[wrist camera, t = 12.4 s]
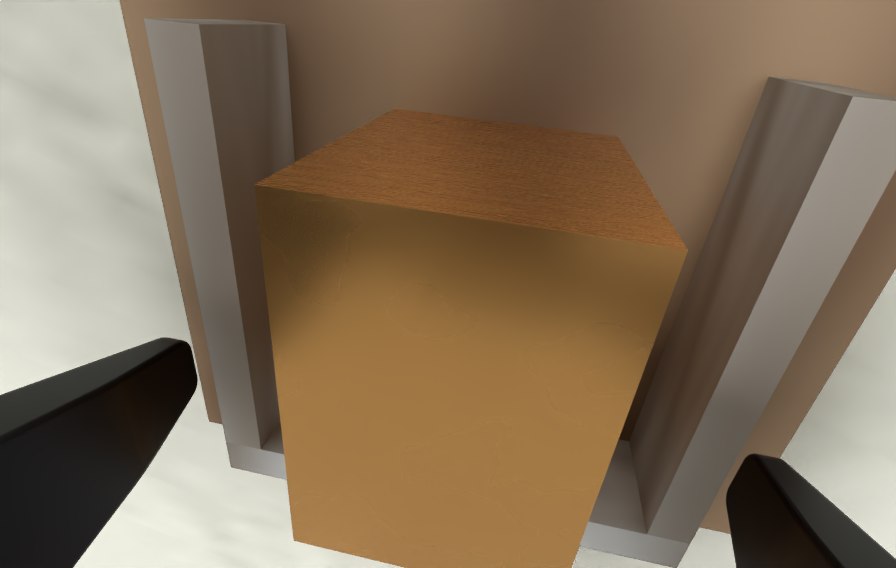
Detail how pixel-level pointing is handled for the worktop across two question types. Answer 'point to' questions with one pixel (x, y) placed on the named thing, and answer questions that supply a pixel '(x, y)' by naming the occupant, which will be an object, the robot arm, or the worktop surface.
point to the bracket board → (573, 109)
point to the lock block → (459, 334)
